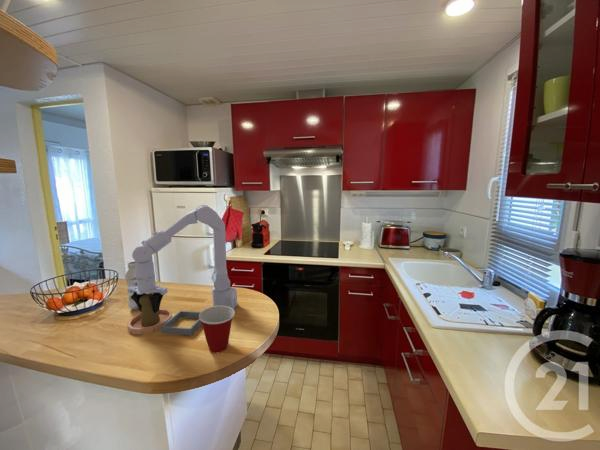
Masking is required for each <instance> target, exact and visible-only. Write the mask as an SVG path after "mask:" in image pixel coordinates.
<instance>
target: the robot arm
mask: <svg viewBox="0 0 600 450" xmlns="http://www.w3.org/2000/svg"><path fill="white" fill-rule="evenodd" d="M198 222H200V223H201V224H204V225H207V226H208V227H210V228H211V229H212V232H213V233H212V234H213V235H212V236H213V237H212V238H213V260H214V261H213V262H214V263H213V273H212V275H211V280H212V283H213V286H212V287H211V288H212V289H211V292H212V305H213V306H227V307H231V308H232V309H234V310H235V309H236V308H237V306H238V305H239V303H238V291H237V289H236V288H234V287H231V280H230V279H229V276H228V275H229V274H228V269H227V268H228V267H227V242H226V236H227V235H226V224H225V222H224V221H223V219H222V217H220V215H219V214H218V212H217V211H215V210H214V209H213V208H211V207H210V206H208V205H206V204H201V205H198V206H197V207H196V209H195V208H193V209H192V210H191V211H189V212H187V213H185V214H183V216H182V217H181V218H179V219H178V220H177V221H175V222H174V223H173V224H172V225H171V226H170V227H168V228H166V229H165V230H164V229H163V230H160V229H159V230H158V231H157V230H155V231H154V232H152V235H151V236H150V237H148V238H147V239H146V240H142V241H141V243H140V244H138V245H137V246H136V247H135V248H134V249H133V251H132V256H131V257H132V259H133V260H134V262H135V265H136V266H135V270H136V278H137V286H131V287H129V288H128V287H127V294H129V293H132V292H134V294H133V295H132V296H131V298H132V299H133V300H134V301H135V303H136V304H137V306H138V308H139V309H138V310H139V312H140V313H142V305H141V304H140V303H139V299H140V297H141V296H143V295H145V294H149V293H152V294H153V295H151V296H150V297H149V299H150V301H151V303H152V307H153V312H154V313H156V312H157V311H159V309H161V308H160V307H161V303H162V300H163V297H164V296H165V295H166V294H167V293H168V288H167V287H162V286H159V285H157V283H156V273H155V265H154V261H153V260H154V259H153V255H154V254H157V253H158V252H159V251H161V250H162V249H163V248H165V247H166V246H168V245H169V244H170V243H171V242H172V237H173V236H175V235H176V234H178V233H179V232H180V231H182V230H184V229H185V228H186V227H188V226H189V225H193V224H194V225H195V224H198Z"/></svg>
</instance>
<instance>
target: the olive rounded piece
mask: <svg viewBox="0 0 600 450" xmlns="http://www.w3.org/2000/svg"><path fill="white" fill-rule="evenodd" d="M151 295H153V293H147V294H145V295H143V296H141V297H140V299H139V303H140V304H141V305H142V312H141V313H142V318H141V325H142V326H143V327H149V326H153V325H155V324H157V323H158V322H159V321H160V318H159V315H158V311H157V312H156V313H154V312H153V307H152V303H151V301H150V299H149V297H150V296H151Z"/></svg>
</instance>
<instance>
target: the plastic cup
mask: <svg viewBox="0 0 600 450" xmlns="http://www.w3.org/2000/svg"><path fill="white" fill-rule="evenodd" d="M199 312H200V314H199V319H200V321H201V323H202V325H201V326H202V329H203V332H204V337H205V340H206V342H207V343H206V344H207V346H208V350H209V352H210V353H214V354H218V353H217V352H219V353H222V352H224V351H225V350H227V348H228V346H229V343H230V342H229V341H230V340H229V339H230V335H231V327H232V322H233V318H234V317H235V315H236V314H235V313H236V311H235V308H234V309H232V308H231V307H227V306H209V307H207V308H204V309H203V310H201V311H199ZM223 350H224V351H223ZM221 351H222V352H221Z"/></svg>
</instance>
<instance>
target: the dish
mask: <svg viewBox="0 0 600 450" xmlns="http://www.w3.org/2000/svg"><path fill="white" fill-rule="evenodd" d="M158 315H159V318H160V321H159V322H158V323H157V324H155V325H153V326H149V327H143V326H142V325H141V318H142V312H140V313H138V314H136V315H134V316H133V317H131V318H130V319H129V321H128V323H127V331H128V332H129V333H130V334H131V335H140V336H141V335H147V334H150V333H155V332H158V331H159V330H160V331H161V326H163V325H164V324H165V323H166V322H167V321H168V320H170V319H171V318H172V317H173V312H172V311H171V310H170V309H168V308H159V311H158Z"/></svg>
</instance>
